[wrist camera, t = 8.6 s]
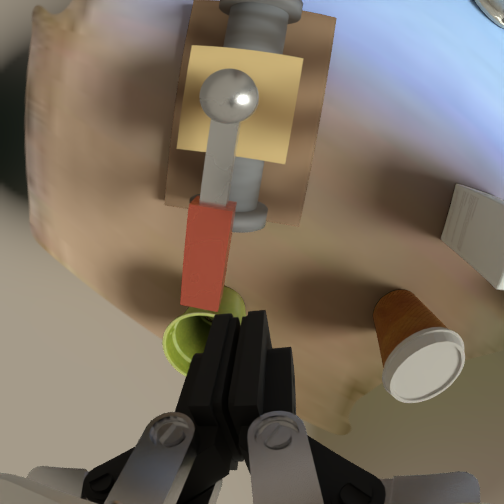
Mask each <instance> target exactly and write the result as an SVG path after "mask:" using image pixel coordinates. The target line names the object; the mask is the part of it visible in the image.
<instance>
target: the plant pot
mask: <svg viewBox="0 0 504 504" xmlns="http://www.w3.org/2000/svg"><path fill="white" fill-rule="evenodd" d="M227 313H232V315H233V317H238V318H239V321H240V325H241V321H242V317H243V316H246V312H245V305H244V302H243V300H242V298H241V297H240V295H239V294H238V293H237V292H236V291H234V290H232V289H230V288H228V287H225V286H224V289H223V295H222V299H221V303H220V306H219V310H218V312H215V311H210V310H204V309H199V308H194V307H189V308H188V309H187V311H186V312H185V313H184V314H183V315H181V316H179V317H177V318H175V319H174V320H173V321H172V322H171V323H170V324H169V325H168V326H167V328H166V330H165V332H164V335H163V341H162V345H163V350H164V353H165V356H166V358H167V360H168V361H169V363H170V364H171V365H172V366H173V367H174V368H175V369H176V370H177V371H178V372H179V373H181V374H182V375H184V376H187V373H188V369H189V366H190V363H191V360H192V357H193V355H194V354H195V353H203V352H204V348H205V345H206V342H207V338H208V335H209V332H210V328H211V325H212V322H210V321H208V320H207V319H206V318H205V317H206V316H207V317H208V318H209V319H210V320H212V321H213V318H214V316H215V315H216V314H227Z"/></svg>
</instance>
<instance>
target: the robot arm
mask: <svg viewBox="0 0 504 504" xmlns="http://www.w3.org/2000/svg"><path fill="white" fill-rule="evenodd" d="M474 1H475V2H476V4H477V5H478V6H479V7H480V9H481V10H482V11H483V12H484V13H485V14H486V15H487V16H488V17H489V18H490V19H491V20H492V21H493V22H494V23H495V24H497V25H498V26H500V27H501V28H503V29H504V0H474ZM243 460H245V462H246V465H247V467H248V470H249V472H250V474H251V483H252V493H253V504H488V503H480V487H479V483H478V480H477V479H476V478H475V477H474V476H473V475H472V474H469V473H468V472H459V471H458V472H450V473H440V474H428V475H412V476H394V477H393V479H378V478H377V477H376V476H374V475H372V474H371V473H369V472H367V471H365V470H364V469H362V468H360V467H358V466H357V465H355V464H353V463H351V462H350V461H348V460H346V459H344V458H343V457H341V456H340V455H338V454H336V453H335V452H333V451H331V450H330V449H328V448H327V447H325V446H323V445H322V444H320V443H319V442H317V441H316V440H314V439H312V438H311V437H309V436H308V435H307V432H306V428H305V426H304V423H303V421H302V420H301V419H300V418H299V417H298V416H297V415H296V398H295V376H294V365H293V356H292V349H291V347H285V348H274V349H272V345H271V339H270V333H269V327H268V321H267V315H266V311H265V310H261V311H250V312H248V316H243V317H242V321H241V325H240V321H239V318H238V317H233V315H232V313H227V314H216V315H215V316H214V318H213V322H212V325H211V328H210V332H209V335H208V338H207V342H206V345H205V348H204V352H203V353H195V354H194V355H193V357H192V360H191V363H190V366H189V369H188V373H187V376H186V379H185V382H184V385H183V388H182V391H181V395H180V398H179V401H178V404H177V407H176V410H175V412H169V413H164V414H161V415H159V416H157V417H156V418H154V419H153V420H151V422H150V423H149V424H148V425H147V427H146V428H145V430H144V432H143V434H142V436H141V437H140V439H139V441H138V443H137V445H136V446H135V447H133V448H132V449H130V450H128V451H126V452H125V453H122V454H121V455H119V456H117V457H115V458H113V459H111V460H109V461H107V462H105V463H103V464H102V465H99V466H97V467H96V468H94V469H93V470H91V471H90V472H88V471H87V470H86V469H77V468H59V467H47V466H40V467H36V468H34V469H32V470H31V471H30V472H29V474H28V476H27V478H24V477H20V476H16V475H12V474H6V473H0V504H216V501H217V498H218V495H219V492H220V489H221V487H222V478H224V477H225V476H227V475H228V474H229V471H230V470H237V466H238V461H243Z"/></svg>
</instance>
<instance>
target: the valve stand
mask: <svg viewBox="0 0 504 504" xmlns="http://www.w3.org/2000/svg"><path fill="white" fill-rule="evenodd" d="M302 7H303V2H302V0H220V1H213V0H194V2H193V7H192V11H191V16H190V21H189V26H188V31H187V36H186V41H185V46H184V52H183V57H182V63H181V69H180V75H179V81H178V88H177V95H176V101H175V109H174V116H173V124H172V132H171V141H170V150H169V159H168V169H167V180H166V192H165V205H167V206H173V207H180V208H187V209H189V204H190V203H191V202H192V201H193V200H194V198H195V197H196V196H200V193H201V185H202V178H203V170H204V163H205V156H206V149H207V142H208V136H209V129H210V123H211V118H209V117H208V116H207V115H206V114H205V112H204V111H203V109H202V107H201V104H200V98H199V96H200V90H201V87H202V85H203V83H204V81H205V80H206V79H207V78H208V77H209V76H210V75H211V74H213V73H214V72H216V71H218V70H222V69H229V68H230V69H237V70H240V71H242V72H244V73H246V74H247V75H249V76H250V77H251V79H252V80H253V81H254V83H255V85H256V87H257V89H258V92H259V104H258V107H257V109H256V111H255V112H254V114H253V115H252V116H251V117H250V118H248V119H247V120H245V121H243V122H241V126H240V132H239V138H238V144H237V150H236V156H235V162H234V169H233V175H232V181H231V187H230V194H229V200H228V201H233V202H237V204H236V211H235V217H234V223H233V229H232V232H253V231H257V230H260V229H262V228H264V226H265V223H266V221H268V222H274V223H280V224H286V225H291V226H297V227H299V223H300V219H301V214H302V209H303V204H304V200H305V195H306V190H307V185H308V180H309V175H310V170H311V165H312V159H313V154H314V149H315V144H316V138H317V133H318V128H319V122H320V117H321V111H322V105H323V100H324V94H325V88H326V82H327V76H328V70H329V64H330V57H331V51H332V44H333V38H334V31H335V24H336V18H335V17H330V16H326V15H322V14H317V13H312V12H307V11H302Z"/></svg>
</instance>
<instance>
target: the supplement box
mask: <svg viewBox="0 0 504 504" xmlns="http://www.w3.org/2000/svg"><path fill="white" fill-rule="evenodd" d="M441 240H442V241H443V242H444V243H445V244H446V245H448V246H449V247H450V248H451V249H452V250H453V251H455V252H456V253H457V254H458V255H459V256H461V257H462V258H463V259H464V260H465V261H466V262H467V263H468V264H470V265H471V266H472V267H473V268H474V269H475V270H476V271H477V272H478V273H479V274H481V275H482V276H483V277H484V278H485V279H486V280H487V281H488V282H489V283H490V284H491V285H492V286H493V287H494V288H495V289H498V290H504V200H503V199H500V198H498V197H495V196H493V195H490V194H487V193H485V192H482V191H479V190H476V189H473V188H470V187H467V186H464V185H461V184H456V185H455V190H454V193H453V197H452V201H451V205H450V209H449V212H448V216H447V219H446V223H445V226H444V230H443V233H442V236H441Z"/></svg>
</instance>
